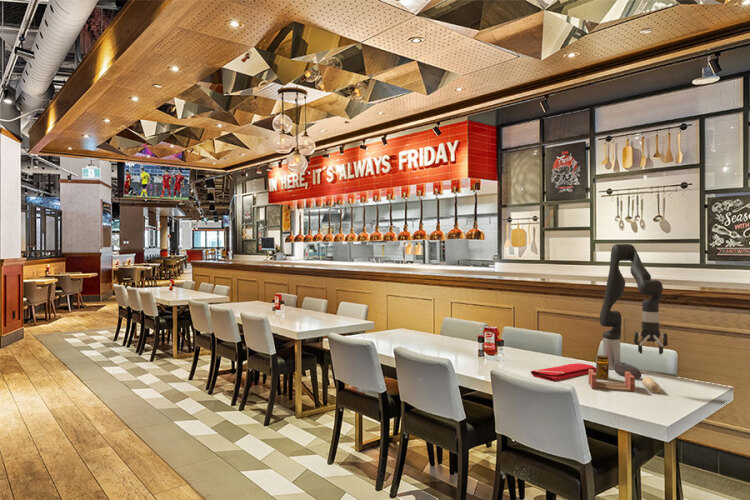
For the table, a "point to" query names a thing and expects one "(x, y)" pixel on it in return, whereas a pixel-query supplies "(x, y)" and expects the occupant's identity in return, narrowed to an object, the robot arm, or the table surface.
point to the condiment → (602, 368)
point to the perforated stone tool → (627, 369)
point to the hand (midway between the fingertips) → (650, 353)
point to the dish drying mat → (563, 372)
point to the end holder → (612, 383)
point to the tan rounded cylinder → (651, 385)
